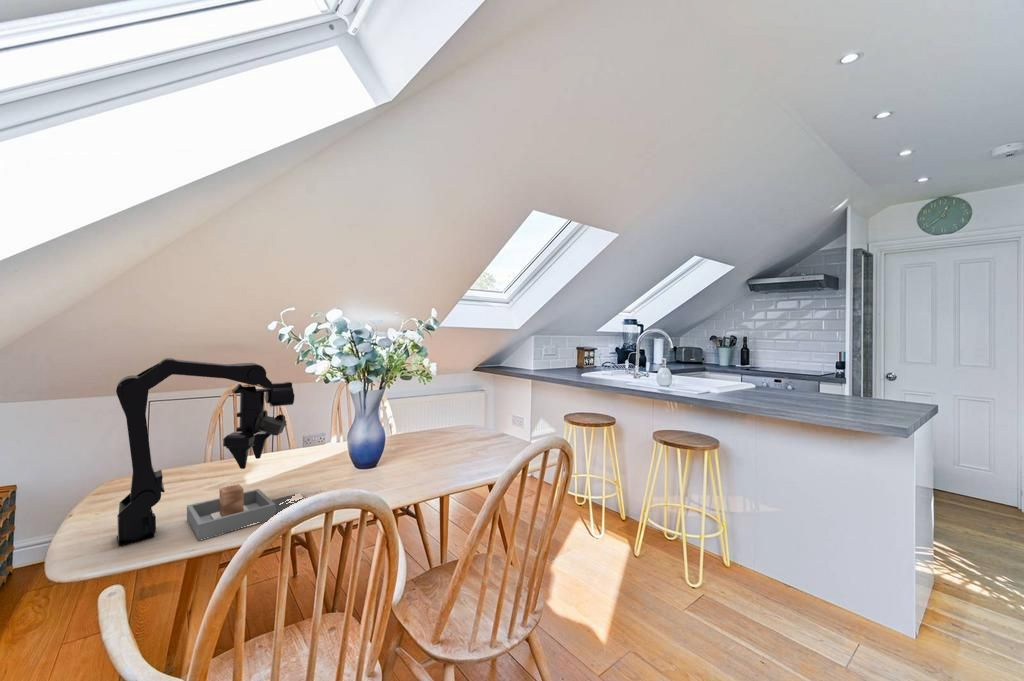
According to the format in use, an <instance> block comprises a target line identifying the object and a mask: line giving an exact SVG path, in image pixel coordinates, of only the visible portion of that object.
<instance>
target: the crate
mask: <svg viewBox="0 0 1024 681" xmlns="http://www.w3.org/2000/svg"><path fill="white" fill-rule="evenodd" d="M243 498H244V511H243V512H239V513H235V514H231V515H228V516H224V517H221V515H220V497H218V498H214V499H210V500H205V501H201V502H196V503H193V504H188V505H186V519H187V523H188V522H189V523H188V525H189V524H190V525H189V526H190V528H191V530H192V533H195V534H194V536H195V537H196V539H197V538H198V539H197V541H198V540H200V541H202V540H201V539H204V538H207V537H211V536H214V537H216V536H215V535H218V536H220V535H219V534H221V535H223V534H222V533H225V534H227V533H226V532H228V533H230V532H229V531H231V530H235V529H238V528H241V527H244V526H247V525H250V524H253V523H257V522H260V524H263V523H266V521H267V520H269V519H270V518H271V517H273V516H274V515H276V504H275V503H274V502H272V501H271V500H272V499H270V497H268V496H267V495H266V494H265V493H264V492H263V491H262V490H261V489H259V488H256V489H252V490H248V491H243ZM276 516H277V515H276ZM267 522H268V521H267ZM235 531H236V530H235ZM211 538H212V537H211ZM207 539H208V538H207ZM204 540H205V539H204Z"/></svg>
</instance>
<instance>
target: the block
mask: <svg viewBox="0 0 1024 681" xmlns="http://www.w3.org/2000/svg"><path fill="white" fill-rule="evenodd" d="M218 491H219V494H218V495H219V498H220V515H221V517H224V516H228V515H231V514H235V513H239V512H243V511H244V498H243V492H244V487H242V485H240V483H238V484H233V485H228V486H224V487H219V490H218Z"/></svg>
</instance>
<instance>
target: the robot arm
mask: <svg viewBox="0 0 1024 681" xmlns="http://www.w3.org/2000/svg"><path fill="white" fill-rule="evenodd" d="M172 375H175V376H177V375H178V376H187V377H188V376H189V377H201V378H202V377H203V378H212V379H213V378H214V379H224V380H225V379H226V380H230V381H235V382H237V383H238V384H237V386H236V387H234V388H232V390H231V392H232V393H233V394H235V395H236V394H237V395H238V394H239V395H240V396H239V398H240V399H239V412H237V413H236V418H239V426H238V427H236V432H235V431H234V432H231V433H229V434H228V435H227V434H226V436H225V437H224V438H222V442H223V443H222V446H223V447H225V448H226V449H228V451H229V452H230V454H231V455H232V456H233V458H234V460H235V462H236V463H237V465H238V466H239V468H240V470H245V469H246V468H247V463H248V457H249V456H248V455H249V451H250V449H252V451H253V452H252V453H253V455H254V457H255V459H261V456H262V454H263V451H264V447H265V444H266V442H267V439H268V438H270V436H271V437H272V436H279V435H280V434H282V433H283V431H284V428H285V427H286V426H287V422H288V421H287V420H286V415H284V414H280V413H279V414H278V415H276V417H275V416H269V415H268V411H267V410H265V409H264V408H265V404H269V406H270V407H271V408H272V407H282V406H283V407H285V406H293V405H294V402H295V393H294V387H293V383H292V381H285V382H274V383H272V381H271V380H270V379H269V378H268V376H267V371H266V369H265V367H264V366H262V365H261V364H257V363H254V362H239V363H231V364H230V363H227V364H224V363H214V362H207V361H206V362H204V361H195V360H186V359H185V360H184V359H175V358H173V357H172V358H171V357H166V358H163V359H162V360H161V361H160V362H158V363H156V364H154V365H153V366H152V365H151V367H149V368H147V369H145V370H143V371H142V372H140V373H138V374H136V375H135V374H134V375H133V374H132V375H131V374H130V375H127V376H124V377H123V378H121V379H120V380H119V382H117V385H116V390H115V391H116V392H115V393H116V395H117V398H118V401H119V404H120V406H121V409H122V410H123V413H124V416H125V418H126V426H127V427H126V428H127V435H128V443H129V444H128V445H129V450H130V458H131V465H132V474H131V484H130V492H129V493H128V494H127V495H126V496H125V497H124V498H123V499H122V500H121V501H119V505H118V514H117V518H116V519H117V536H116V541H117V542H116V543H117V546H121V547H124V546H123V545H125V546H128V544H129V545H132V544H131V543H133V544H136V543H140V542H142V541H143V540H144V541H146V540H147V539H148V540H150V539H154V538H155V533H156V532H157V518H156V513H154V511H153V507H154V506H156V505H157V504H158V503H159V501H161V498H162V493H165V486H164V482H163V479H164V478H163V477H164V476H163V470H162V469H159V470H156V471H155V469H154V467H153V465H152V456H151V454H152V453H151V447H150V439H149V432H148V424H147V423H148V422H147V407H148V406H147V405H148V397H149V390H151V389H152V388H154V387H156V386H158V385H159V384H161V383H162V382H163V381H164V380H166V379H168V378H169V377H171V376H172ZM241 383H242V384H246V386H243V385H242V384H241ZM256 386H261V387H262V388H256ZM139 541H140V542H139ZM135 542H136V543H135Z"/></svg>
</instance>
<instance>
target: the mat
mask: <svg viewBox="0 0 1024 681" xmlns="http://www.w3.org/2000/svg"><path fill="white" fill-rule="evenodd" d="M298 493H299V492H298ZM298 493H295V494H298ZM295 494H290V495H287V496H283V497H278V498H274V499H270V500H271V501H272V502H274V503H275V504H276V514H277V513H278V512H280V511H282V510H283V509H285V508H287V507H289V506H290V505H292V504H294V503H297V502H298V501H300V500H302V499H304V498H302V499H299V500H297V501H295V500H294V501H291V502H294V503H288V502H289V501H290V500H289V501H286V500H287V499H291V498H292V496H295ZM303 497H305V496H304V495H303ZM285 501H286V502H285ZM282 502H284V503H283V504H281V505H279V504H280V503H282ZM286 503H288V504H286Z"/></svg>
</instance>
